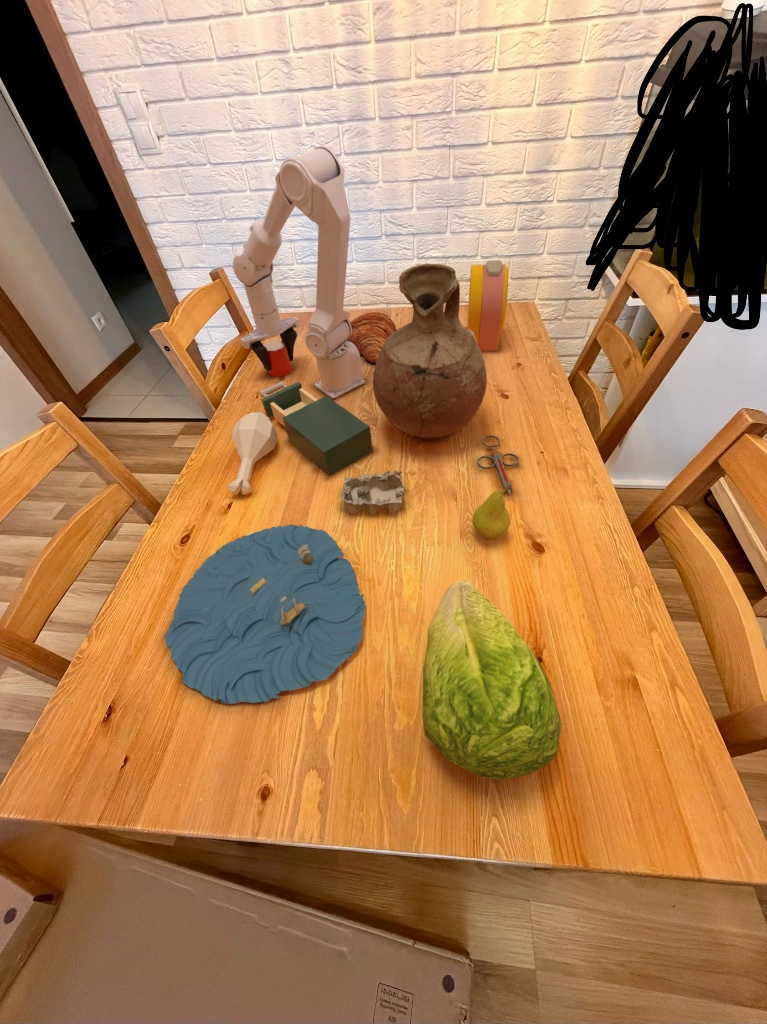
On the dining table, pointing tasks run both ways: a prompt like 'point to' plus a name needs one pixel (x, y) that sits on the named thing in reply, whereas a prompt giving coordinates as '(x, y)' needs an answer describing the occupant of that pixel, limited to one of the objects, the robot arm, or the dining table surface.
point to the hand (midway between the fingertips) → (279, 364)
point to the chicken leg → (251, 447)
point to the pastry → (371, 333)
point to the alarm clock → (487, 303)
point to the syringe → (499, 463)
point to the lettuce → (486, 691)
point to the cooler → (328, 435)
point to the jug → (430, 359)
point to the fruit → (492, 516)
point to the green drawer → (284, 400)
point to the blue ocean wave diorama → (267, 616)
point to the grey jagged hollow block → (373, 492)
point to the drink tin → (278, 358)
